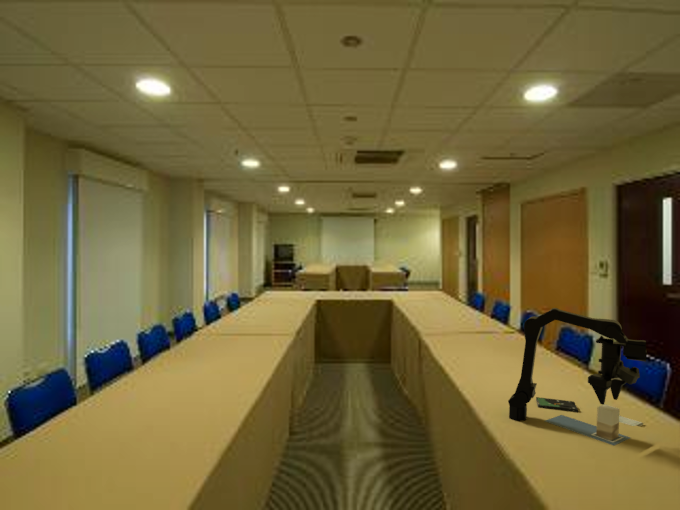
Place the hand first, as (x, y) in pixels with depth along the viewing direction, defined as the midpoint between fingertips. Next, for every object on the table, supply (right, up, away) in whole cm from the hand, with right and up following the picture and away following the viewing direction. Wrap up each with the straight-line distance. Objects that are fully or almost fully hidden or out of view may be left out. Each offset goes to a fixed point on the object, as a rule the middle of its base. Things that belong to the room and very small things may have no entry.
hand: (608, 401), depth 165 cm
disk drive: (-4, -13, +31) cm, 33 cm away
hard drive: (+14, -14, +17) cm, 26 cm away
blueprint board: (-5, -13, +7) cm, 15 cm away
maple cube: (0, -12, 0) cm, 12 cm away
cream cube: (0, -7, 0) cm, 7 cm away
